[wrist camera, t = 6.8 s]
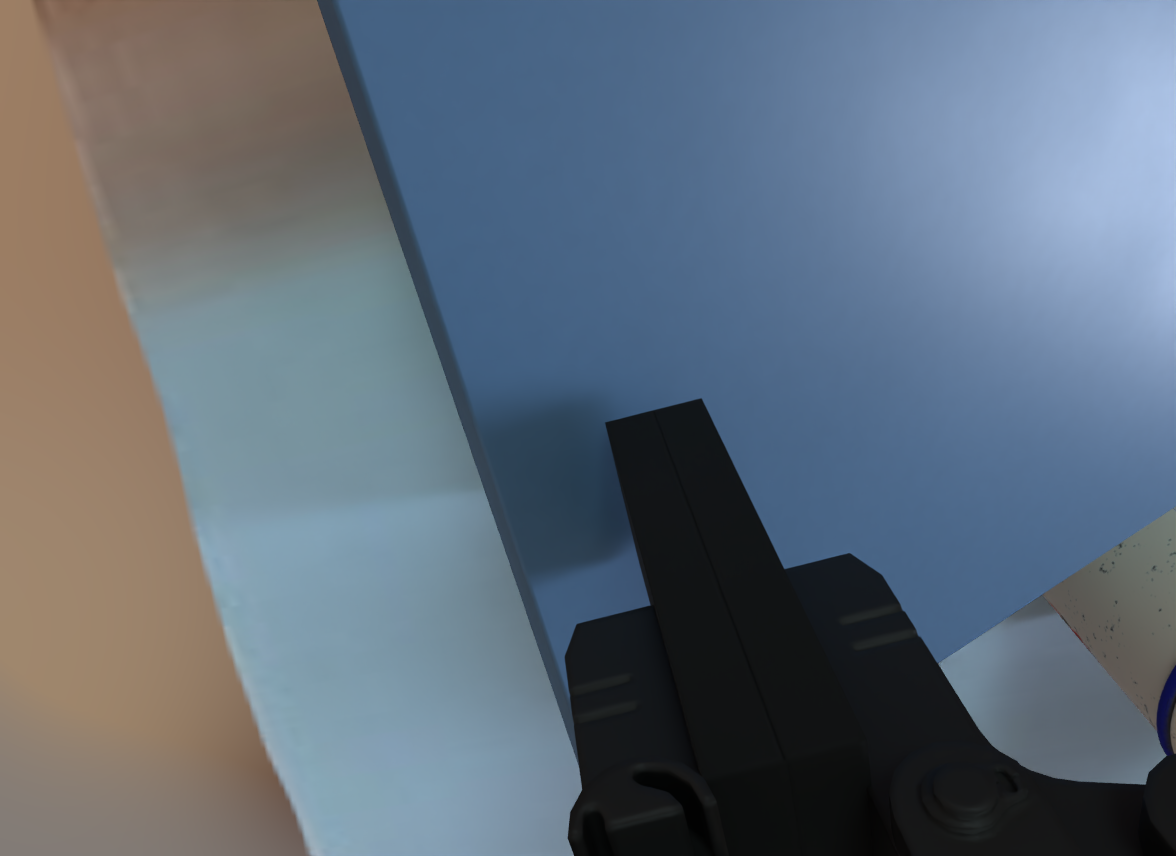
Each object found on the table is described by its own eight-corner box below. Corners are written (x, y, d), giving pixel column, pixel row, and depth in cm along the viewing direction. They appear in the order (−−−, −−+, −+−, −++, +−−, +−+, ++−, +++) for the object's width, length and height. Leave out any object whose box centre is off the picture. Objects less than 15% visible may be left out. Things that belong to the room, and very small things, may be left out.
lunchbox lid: (604, 842, 19) (624, 872, 18) (299, -47, 11) (315, -51, 10) (1169, 479, 24) (1200, 491, 24) (1261, -299, 16) (1312, -313, 15)
